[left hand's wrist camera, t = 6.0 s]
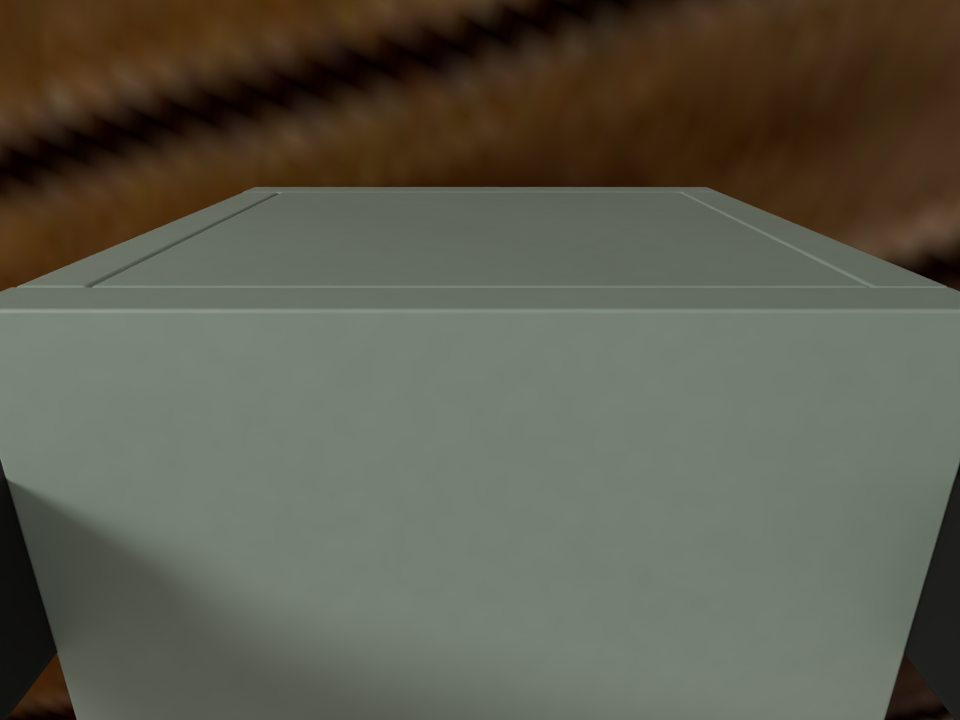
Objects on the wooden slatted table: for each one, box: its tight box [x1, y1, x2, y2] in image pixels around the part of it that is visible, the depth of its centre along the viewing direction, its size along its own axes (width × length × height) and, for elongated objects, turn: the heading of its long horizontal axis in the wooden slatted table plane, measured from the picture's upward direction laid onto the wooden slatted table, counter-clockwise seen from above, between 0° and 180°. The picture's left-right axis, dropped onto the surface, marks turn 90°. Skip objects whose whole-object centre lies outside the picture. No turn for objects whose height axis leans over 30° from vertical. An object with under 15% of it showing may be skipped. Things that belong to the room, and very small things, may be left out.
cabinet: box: [0, 187, 960, 720], centre depth 16 cm, size 21×11×10 cm, turn 0°
